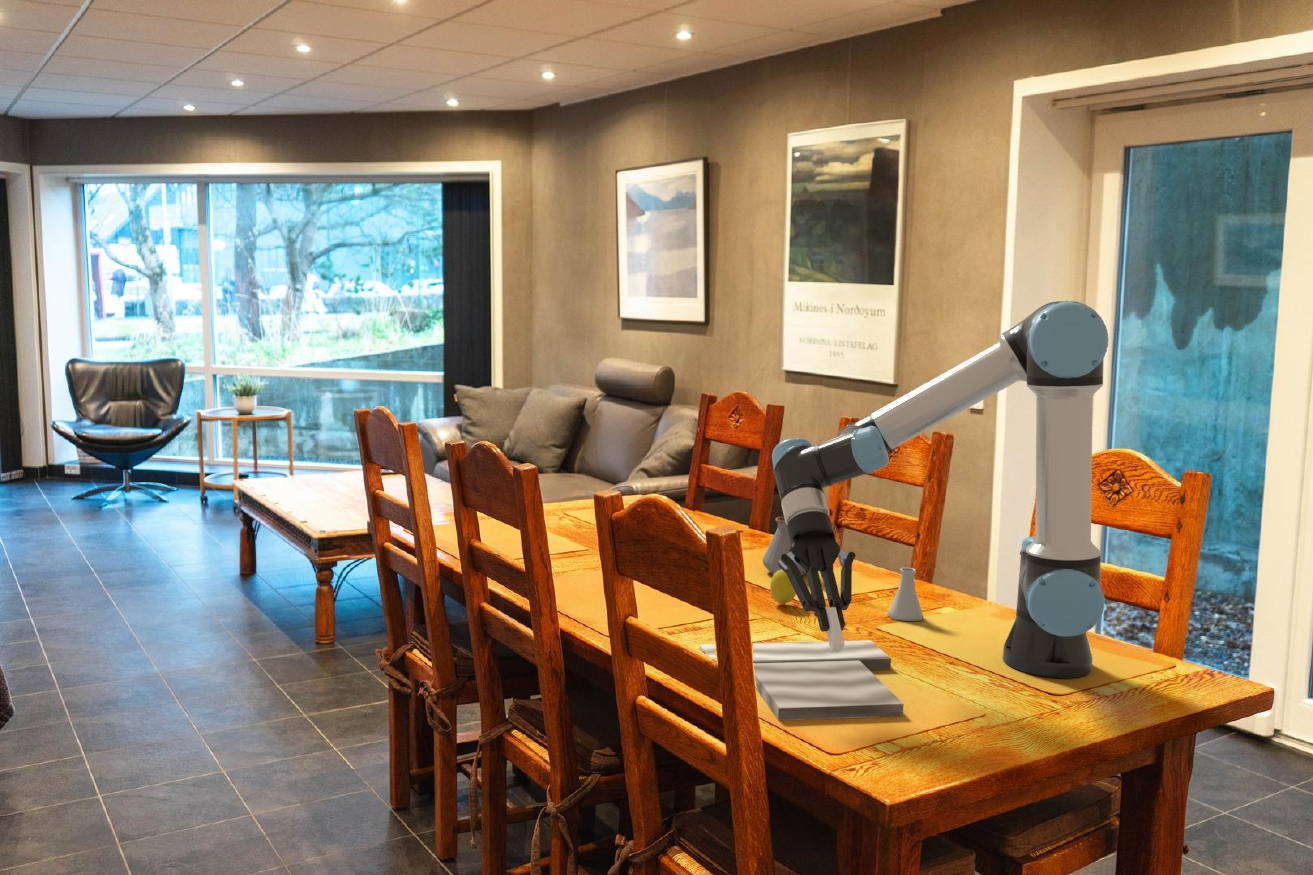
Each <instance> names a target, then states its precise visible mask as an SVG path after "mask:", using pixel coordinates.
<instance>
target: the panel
mask: <svg viewBox="0 0 1313 875" xmlns="http://www.w3.org/2000/svg"><path fill="white" fill-rule="evenodd" d="M754 670H755V681H756V687H757V689H756V691H757V692H758V694H759V695H760V696H761V698H762V700H763V701H764V702H765V703H766V705H767V707H768V708H769V709H770V711H771V712H772V713H773V715H774V716H775V718H776V719H777V720H778V721H801V720H804V721H805V720H806V719H807V720H827V719H830V720H831V719H852V718H853V719H858V718H860V719H861V718H878V717H877V716H889V717H902V716H901V715H903V716H904V702H903V701H902V700H900V699H899V698H898V696H896V695H895V693H894V692H892V691H891V690H890V689H889V687H887V686H886V685H885V684H884V683H883V682H882V681H881V680H880V679H879V678H878V677H877V676H876V675H875V674H874V673H873V672H872V670H869V669H868V668H867V667H866V666H865V665H863V664H862V663H861V662H860V661H859V660H858V661H822V662H786V663H754ZM897 715H899V716H897ZM875 716H876V717H875Z"/></svg>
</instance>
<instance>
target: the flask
mask: <svg viewBox="0 0 1313 875" xmlns="http://www.w3.org/2000/svg"><path fill="white" fill-rule="evenodd" d="M899 571H900V581H899V585H898V589H897V591H896V593H895V596H894V598H893V601H892V603H891V605H890V607H889V610H888V613H887V614H886V616H888V617H890V618H891V619H892V620H898V621H905V622H916V621H917V622H919V621H922V620H923V618H924V614H923V611H922V608H921V605H920V602H919V597H918V594H917V590H916V584H915V575H916V572H917V569H915V568H913V567H901V568H899Z"/></svg>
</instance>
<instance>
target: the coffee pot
mask: <svg viewBox="0 0 1313 875" xmlns="http://www.w3.org/2000/svg"><path fill="white" fill-rule="evenodd" d="M775 522H776V523H777V529H776V530H775V533H774V534H773V537H772V538H771V541H770V543H769V545H768V547H767V549H766V551H765V553H764V555H763V557H762V563H763V566H764V567H765V569H766V570H767V571H769V573H770V574H771V575H772V576H773V575H774V574H775V572H777V571H778V570H781V568H780V567H779V565H778V563H779V561H780V558H781V556H782V554H788V553H789V550H790V547H791V545H790V542H789V537H788V533H787V525H786V523H785V518H784V516H778V517H775ZM832 526H834V529H833V531H834V532H835V531H836V530H837V527H836V525H835V524H834V523H832ZM795 564H796V565H797V567H798V569H799V571H800V573H801V575H803V576H804V574H805V570H804V569H803V568H802V567H801V566H800V565H799V564H798V563H797V562H796V561H795Z"/></svg>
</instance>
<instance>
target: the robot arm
mask: <svg viewBox="0 0 1313 875" xmlns="http://www.w3.org/2000/svg"><path fill="white" fill-rule="evenodd" d="M1108 347H1109V334H1108V329H1107V326H1106V323H1104V320H1103V319H1102V317H1101V316H1100V314H1099V313H1098V312H1097V311H1096V310H1095V309H1093V308H1092V307H1091V306H1088V305H1087V304H1085V303H1082V302H1079V301H1076V300H1073V301H1070V300H1061V301H1051V302H1049V303H1045V304H1044V305H1041V306H1040V307H1038V308H1036V310H1034V311H1033V312H1032V313H1030V314H1029V315H1028V316H1027V317H1026V318H1024V319H1023V320H1021V321H1020V322H1019V323H1017V324H1016V325H1014V326H1012V327H1011V328H1009V329H1008V330H1006V331H1004V332H1002V333H1001V334H1000V335H999V336H998V340H997V342H996V343H995V344H993V345H991V346H989V347H987V348H986V349H984V350H982V351H980V352H978V353H977V354H975V355H973V356H972V357H970V358H968V359H966V360H964V361H962V362H961V363H959V364H957V365H956V366H954V367H952V368H950V369H948V370H947V371H945V372H943V373H942V374H939V375H938V376H935V377H934V378H933V379H931V380H928V381H927V382H925V383H923V384H922V385H920V386H919V387H916V388H914V389H912V390H911V391H909V392H908V393H906V394H904V395H902V396H900V397H898V398H897V399H895V400H893V401H892V402H890V403H888V404H886V405H884V406H883V407H880V409H877V410H875V411H874V412H872V413H870V415H867V416H865V417H863V418H862V419H860V420H857V421H856V422H851V423H849V424H847V425H846V426H845V427H843V428H842V429H841V430H840V431H839V432H838V434H837V436H836V437H834V438H831V439H830V440H829V439H828V440H826V441H823V442H821V443H817V444H813V445H812V443H811V442H810V441H809V440H807V439H806V438H803V437H797V438H790V437H789V438H787V439H785V440H783V441H781V442H779V443H778V444H776V446H775V447H774V448H773V450H772V454H771V458H772V459H771V460H772V467H773V476H774V478H775V482H776V486H777V491H778V493H779V498H780V503H781V504H780V505H781V509H782V512H783V517H784V518H785V523H786V525H787V533H788V537H789V542H790V545H791V547H790V550H789V553H788V554H782V556H781V558H780V561H779V563H778V565H779V567H780V568H781V569H782V570H783V571H784V572H785V573H786V574H787V576H788V578H789V580H790V582H791V584H792V587H793V589H794V591H795V593H796V595H795V596H797V599H798V601H799V602H800V605H801V607H802V609H803V611H805V612H806V613H807V612H809V613H810V612H812V613H813V615H814V617H816V618H817V623H818V627H819V630H820V632H822V633H824V632H825V633H826V637H827V641H828V642H829V646H830V650H831V653H836V652H841V650H842V648H843V646H844V641H845V639H844V637H843V630H844V628H845V627H846V621H845V618H844V613H843V611H847V610H848V608H849V606H850V604H851V603H852V596H853V595H852V591H853V590H852V587H853V586H852V582H853V580H852V579H853V578H852V577H853V573H852V572H853V570H852V569H853V563H854V560H855V559H856V553H855V552H854V551H849V552H846V551H844V550H842V549H841V545H840V544H839V543H838V542H837V541H836V537H835V531H834V528H833V525H832V524H833V522H832V520H831V517H830V511H829V508H828V504H827V500H826V496H825V492H824V489H825V488H827V487H832V486H834V485H836V484H839V483H842V482H845V481H849V480H851V479H854V478H857V477H861V476H864V475H867V474H873V473H874V472H875V471H877V470H880V469H883V468H885V467H887V465H889V462H890V459H889V458H890V457H889V452H890V451H893V450H894V449H896V448H898V447H899V446H901V445H903V444H905V443H907V442H909V441H910V440H912V439H914V438H916V437H918V436H920V435H922V434H924V433H925V432H927V431H930V430H932V429H933V428H934V427H936V426H938V425H940V424H942V423H943V422H945V421H947V420H949V419H951V418H953V417H955V416H957V415H958V414H960V413H962V412H964V411H965V410H968V409H969V408H971V407H973V406H974V405H975V406H976V405H977V404H979V403H981V402H982V401H984V400H986V399H988V398H990V397H991V396H993V395H995V394H997V393H999V392H1001V391H1002V390H1004V389H1006V388H1008V387H1010V386H1012V385H1013V384H1015V383H1017V382H1019V381H1022V382H1026V387H1027V388H1028V389H1029V390H1030V391H1032V393H1033V394H1034V395H1035V397H1036V400H1035V402H1036V403H1035V404H1036V406H1035V407H1036V410H1035V411H1036V412H1035V413H1036V417H1035V418H1036V419H1035V420H1036V421H1035V422H1036V424H1035V425H1036V427H1035V430H1036V432H1035V433H1036V434H1035V436H1036V437H1035V448H1036V449H1035V536H1028V537H1027V536H1026V538H1024V539H1023V540H1022V542H1021V548H1020V550H1019V555H1020V558H1019V559H1020V561H1019V562H1020V563H1019V574H1018V587H1017V601H1016V609H1015V610H1016V613H1015V620H1014V621H1013V624H1012V626H1011V629H1010V631H1009V633H1008V635H1007V637H1006V640H1005V643H1004V644H1003V649H1002V660H1003V662H1004V663H1005V664H1006V665H1008V666H1009V667H1011V668H1014V669H1016V670H1017V671H1021V672H1024V673H1028V674H1030V675H1036V676H1041V677H1046V676H1047V678H1055V677H1057V678H1058V679H1071V678H1080V677H1084V676H1088V675H1089V674H1090V673H1091V672H1092V669H1093V654H1092V651H1091V647H1090V644H1089V639H1088V635H1087V632H1089V631H1090V630H1091V629H1093V628H1094V627H1095V626H1096V625H1097V624H1098V622H1099V621H1100V619H1101V618H1102V616H1103V614H1104V608H1105V604H1106V603H1105V600H1106V598H1105V595H1104V591H1103V589H1102V587H1101V569H1102V568H1101V567H1102V566H1101V562H1102V561H1101V557H1102V555H1101V552H1102V551H1101V550H1100V549H1099V548H1098V547H1097V546H1096V545H1095V544H1094V543H1093V542H1092V481H1093V480H1092V478H1093V477H1092V475H1093V471H1092V470H1093V406H1094V404H1093V402H1094V401H1093V399H1094V398H1093V397H1094V395H1095V394H1096V393H1097V392H1098V391H1099V390H1100V389H1101V388H1102V387H1103V386H1104V360H1105V356H1106V353H1107V351H1108ZM837 558H838V560H839V561H838V562H839V566H841V571H840V593H839V589H838V588H839V587H838V584H837V580H836V576H835V573H834V563H835V562H836V560H837ZM795 561H796V562H797V563H798V564H799V565H800V566H801V567H802V568H803V569H804V570H805V573H804V574H805V578H806V579H807V581H808V582H807V583H808V586H807V584H806V581H805V579H804V577H803V576H802V575H801V573H800V571H799V569H798V567H797V565H796V564H795ZM821 578H822V581H823V586H824V590H825V594H826V599H827V603H828V606H829V607H826V606H827V603H826V599H825V595H824V592H823V591H824V590H823V586H822V582H821ZM1057 678H1056V679H1057Z"/></svg>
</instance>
